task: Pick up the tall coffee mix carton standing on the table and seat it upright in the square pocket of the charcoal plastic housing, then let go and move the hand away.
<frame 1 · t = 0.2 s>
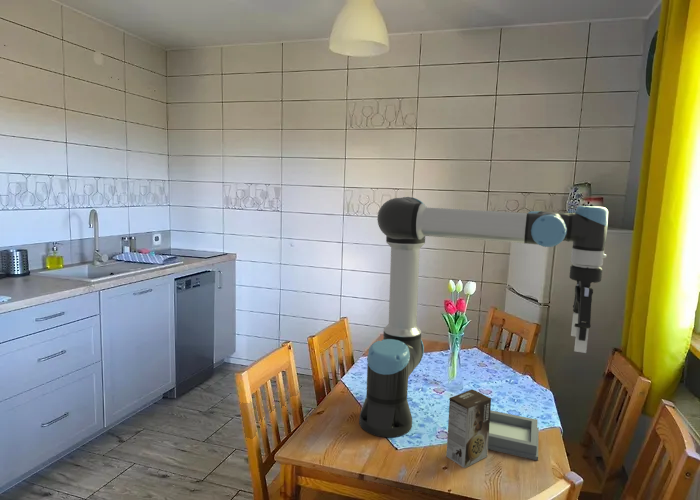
hand: (578, 343, 125), 28 cm above the table, tool pointing down, fingers open, 13 cm apart
housing: (507, 438, 130), on the table
coffee box: (466, 457, 120), on the table
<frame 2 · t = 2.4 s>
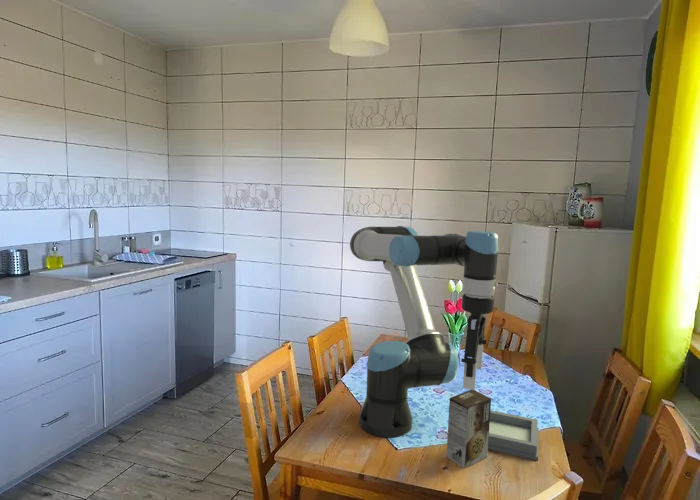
hand: (472, 378, 117), 21 cm above the table, tool pointing down, fingers open, 13 cm apart
nothing on the table moved.
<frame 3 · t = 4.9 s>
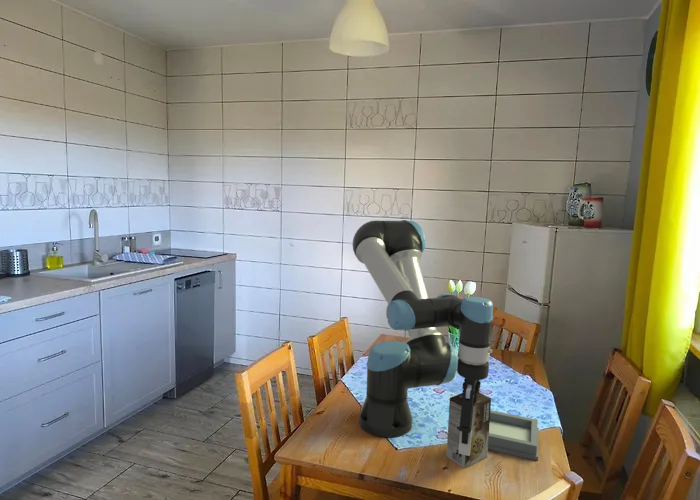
hand: (467, 442, 120), 4 cm above the table, tool pointing down, fingers closed on coffee box, 10 cm apart
coffee box: (466, 457, 120), on the table, touching gripper
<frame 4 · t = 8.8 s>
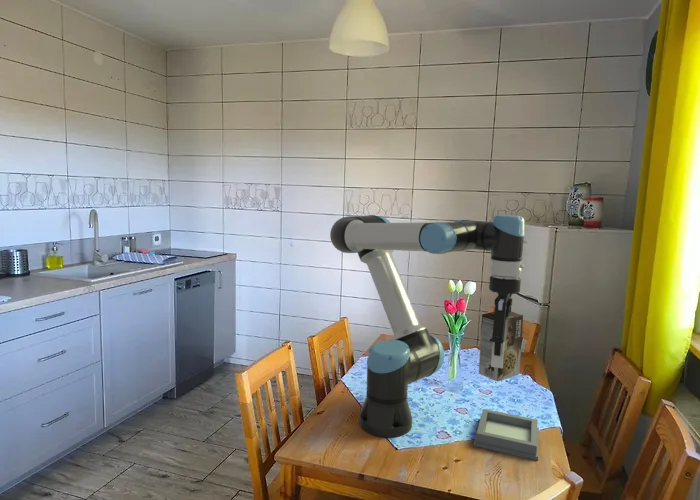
hand: (499, 359, 122), 24 cm above the table, tool pointing down, fingers closed on coffee box, 10 cm apart
coffee box: (498, 374, 122), point 20 cm above the table, touching gripper
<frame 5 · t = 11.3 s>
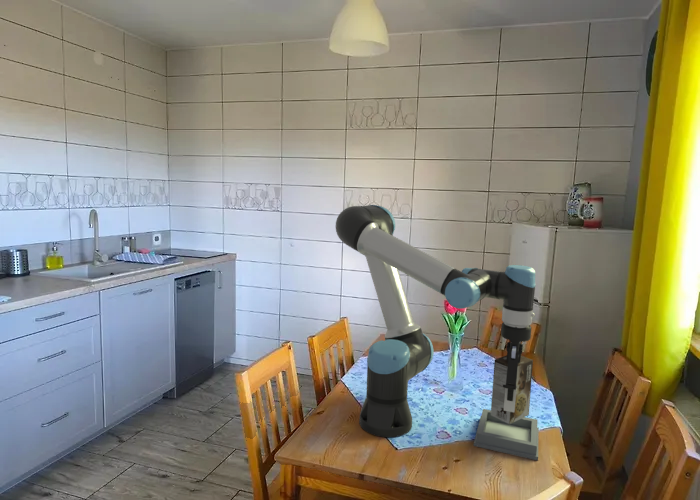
hand: (510, 401, 128), 11 cm above the table, tool pointing down, fingers closed on coffee box, 10 cm apart
coffee box: (509, 416, 129), point 7 cm above the table, touching gripper
when the fingers open (6 cm above the table, at t = 13.1 s): coffee box drops 1 cm, resting on housing.
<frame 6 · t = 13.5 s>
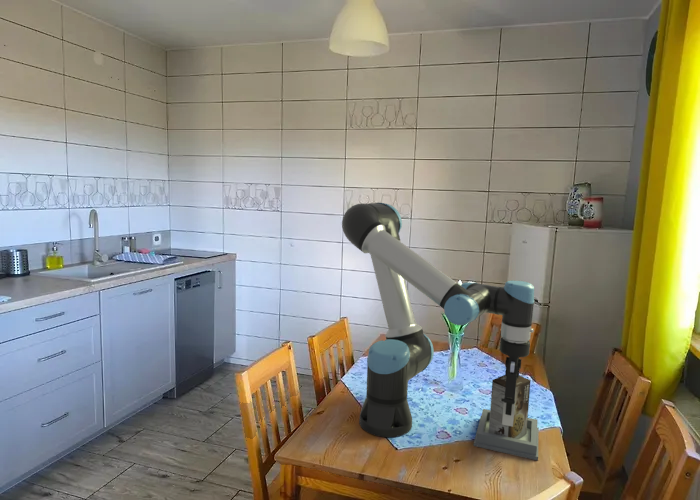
hand: (509, 413, 129), 7 cm above the table, tool pointing down, fingers open, 13 cm apart
coffee box: (507, 435, 129), point 1 cm above the table, touching housing
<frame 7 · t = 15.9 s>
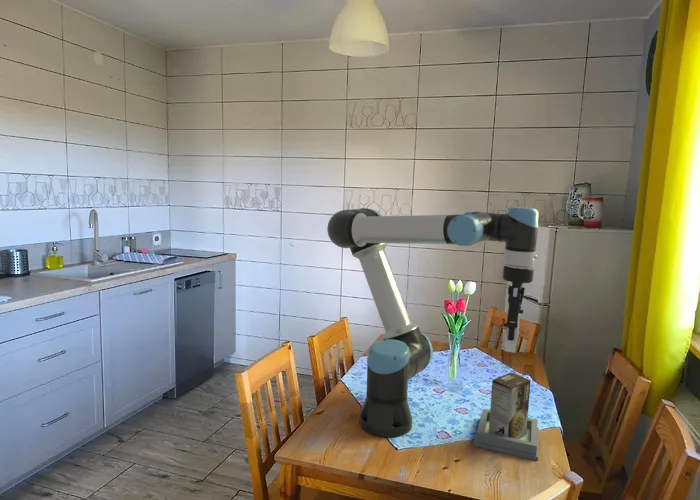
hand: (511, 343, 127), 27 cm above the table, tool pointing down, fingers open, 13 cm apart
nothing on the table moved.
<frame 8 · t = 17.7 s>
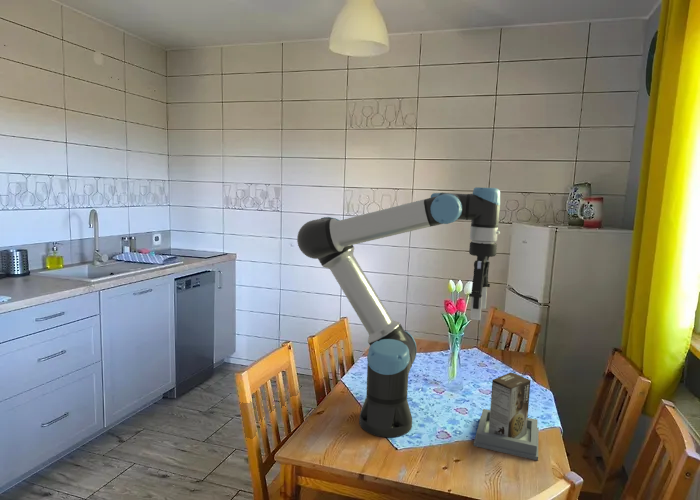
hand: (478, 313, 137), 32 cm above the table, tool pointing down, fingers open, 13 cm apart
nothing on the table moved.
at the end: coffee box inside the target area on the housing (0.3 cm from its centre), point 0.9 cm above the housing's base; coffee box tilted 0°; the gripper is holding nothing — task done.
